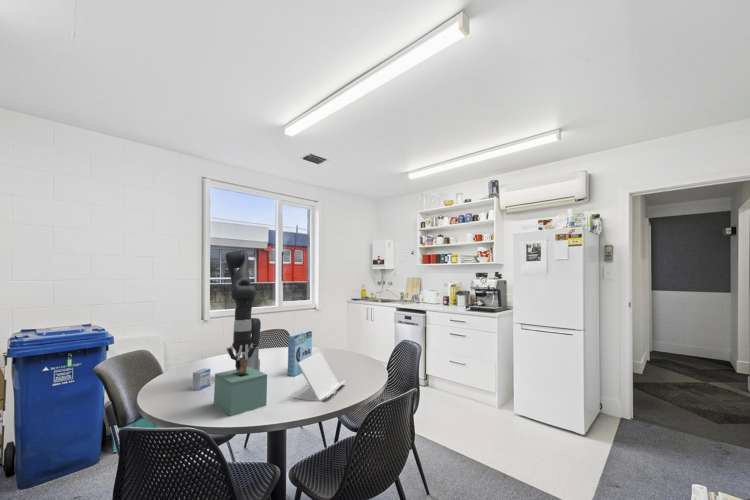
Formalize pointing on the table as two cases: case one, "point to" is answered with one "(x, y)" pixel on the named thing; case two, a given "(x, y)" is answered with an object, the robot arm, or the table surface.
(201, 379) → the medicine box
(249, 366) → the robot arm
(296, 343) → the gum box
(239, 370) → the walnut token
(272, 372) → the table surface
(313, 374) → the tablet stand
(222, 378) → the box
